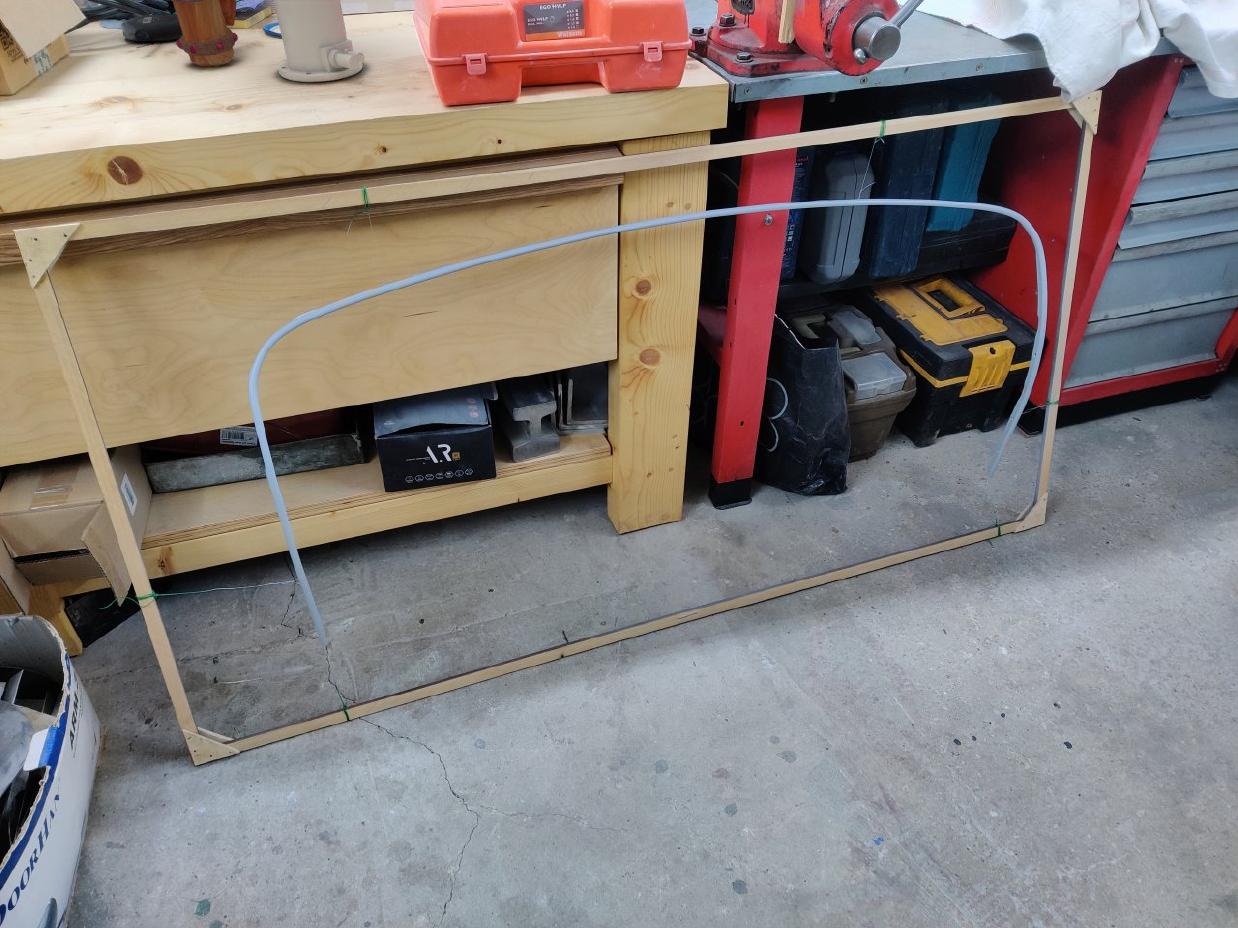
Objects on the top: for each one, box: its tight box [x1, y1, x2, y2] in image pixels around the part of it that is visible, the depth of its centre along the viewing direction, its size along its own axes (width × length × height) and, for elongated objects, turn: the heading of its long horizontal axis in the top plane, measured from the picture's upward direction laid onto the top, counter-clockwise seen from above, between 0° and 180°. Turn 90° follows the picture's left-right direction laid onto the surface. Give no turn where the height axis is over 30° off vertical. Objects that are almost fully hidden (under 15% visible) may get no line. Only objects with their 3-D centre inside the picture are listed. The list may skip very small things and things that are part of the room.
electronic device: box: [120, 14, 183, 42], centre depth 152 cm, size 9×6×15 cm
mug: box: [170, 0, 239, 67], centre depth 138 cm, size 15×8×15 cm, turn 168°
